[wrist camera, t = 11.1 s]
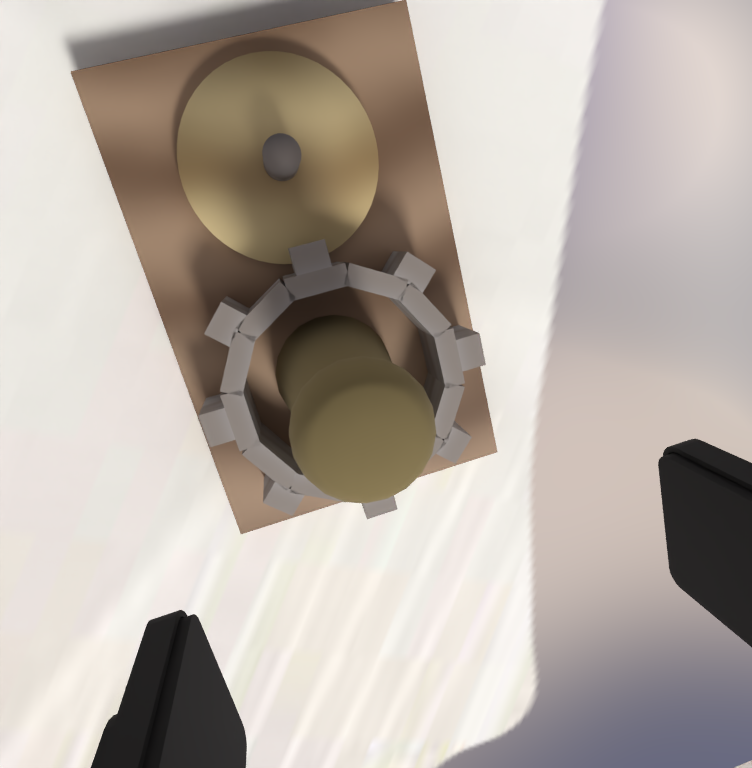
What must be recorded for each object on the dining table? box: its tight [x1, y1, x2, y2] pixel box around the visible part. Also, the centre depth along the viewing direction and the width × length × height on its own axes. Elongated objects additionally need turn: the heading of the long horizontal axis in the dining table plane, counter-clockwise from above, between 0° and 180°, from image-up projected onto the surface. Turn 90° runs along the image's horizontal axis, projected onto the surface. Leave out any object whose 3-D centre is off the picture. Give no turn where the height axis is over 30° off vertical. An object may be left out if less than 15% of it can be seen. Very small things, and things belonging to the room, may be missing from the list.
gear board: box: [71, 0, 497, 534], centre depth 26 cm, size 23×15×4 cm, turn 14°
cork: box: [275, 315, 436, 503], centre depth 23 cm, size 6×6×11 cm
